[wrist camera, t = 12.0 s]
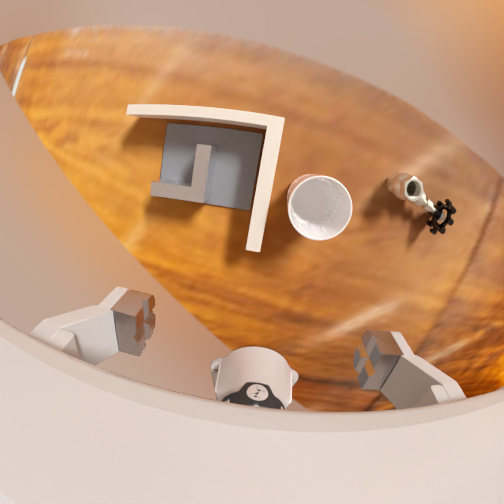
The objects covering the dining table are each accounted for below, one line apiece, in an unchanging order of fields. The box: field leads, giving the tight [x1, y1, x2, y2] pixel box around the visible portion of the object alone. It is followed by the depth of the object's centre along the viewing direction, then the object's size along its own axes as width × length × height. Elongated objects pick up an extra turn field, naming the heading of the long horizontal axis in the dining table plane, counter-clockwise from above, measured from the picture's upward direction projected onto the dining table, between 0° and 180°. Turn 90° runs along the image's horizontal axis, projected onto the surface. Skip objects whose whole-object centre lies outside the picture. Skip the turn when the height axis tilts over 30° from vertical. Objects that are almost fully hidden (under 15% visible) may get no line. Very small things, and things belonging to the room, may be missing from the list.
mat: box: [160, 123, 263, 211], centre depth 40 cm, size 12×15×1 cm
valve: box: [387, 172, 456, 234], centre depth 36 cm, size 7×7×12 cm
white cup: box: [287, 174, 352, 240], centre depth 36 cm, size 8×8×10 cm
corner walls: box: [126, 104, 285, 252], centre depth 37 cm, size 18×22×6 cm
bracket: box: [151, 144, 218, 203], centre depth 37 cm, size 8×8×5 cm
